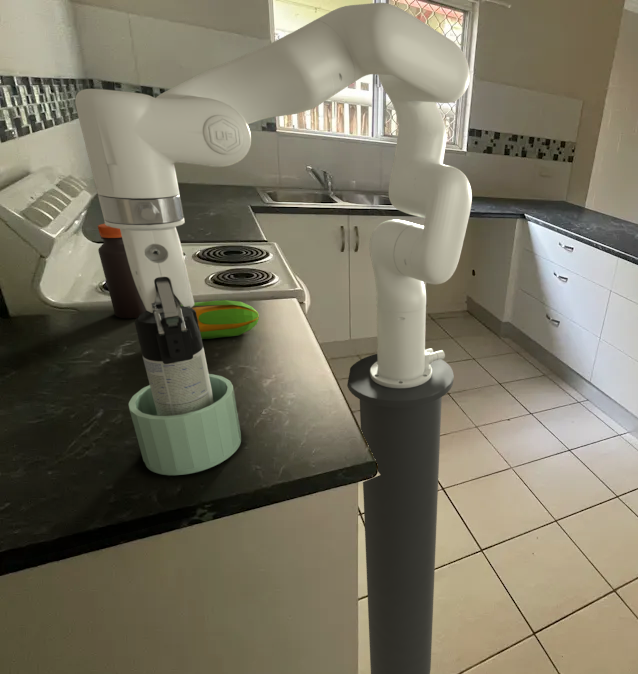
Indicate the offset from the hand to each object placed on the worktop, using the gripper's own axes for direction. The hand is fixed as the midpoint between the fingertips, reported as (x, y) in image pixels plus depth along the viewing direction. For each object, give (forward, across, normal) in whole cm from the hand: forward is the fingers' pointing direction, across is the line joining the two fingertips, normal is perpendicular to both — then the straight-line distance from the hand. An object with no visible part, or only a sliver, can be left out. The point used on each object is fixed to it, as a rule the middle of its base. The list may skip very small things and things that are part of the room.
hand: (173, 348), depth 62 cm
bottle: (+16, +60, +2) cm, 62 cm away
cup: (+16, 0, 0) cm, 16 cm away
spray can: (+15, 0, 0) cm, 15 cm away
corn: (+16, +40, -9) cm, 44 cm away
